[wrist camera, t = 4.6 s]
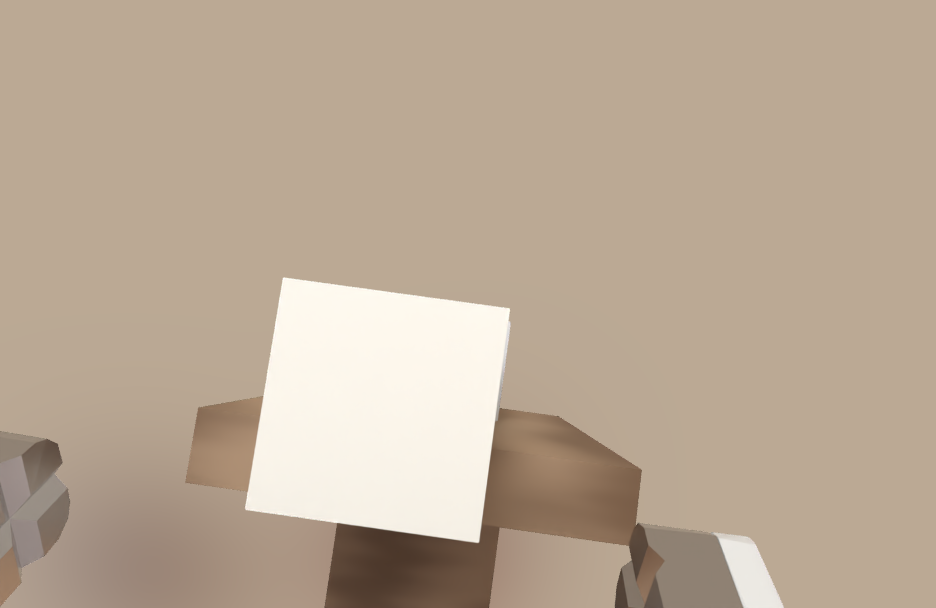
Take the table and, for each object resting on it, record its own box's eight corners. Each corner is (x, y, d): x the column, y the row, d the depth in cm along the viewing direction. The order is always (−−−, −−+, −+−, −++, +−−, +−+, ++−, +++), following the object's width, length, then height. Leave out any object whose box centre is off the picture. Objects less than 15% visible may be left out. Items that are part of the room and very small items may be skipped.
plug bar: (493, 410, 30) (504, 328, 31) (557, 554, 8) (594, 243, 8) (390, 396, 31) (402, 314, 31) (168, 498, 8) (220, 193, 8)
